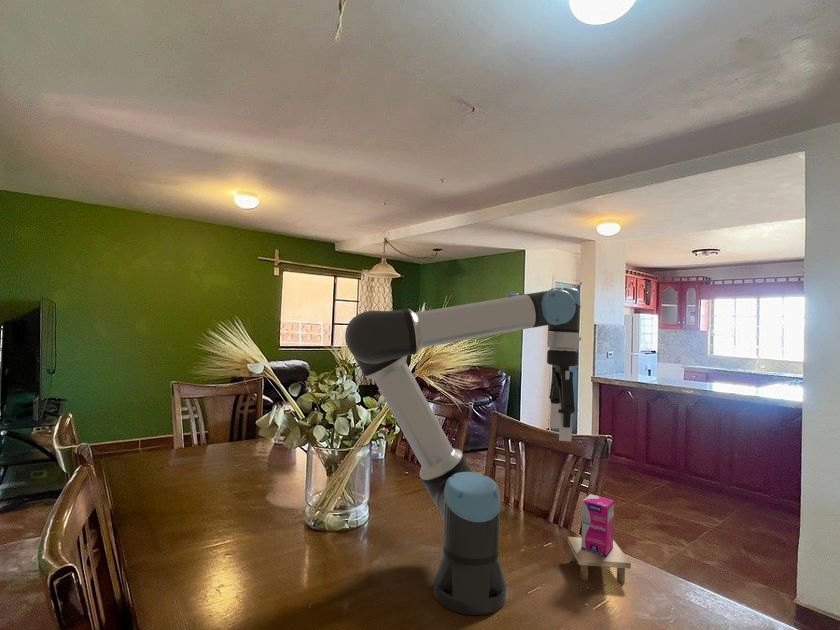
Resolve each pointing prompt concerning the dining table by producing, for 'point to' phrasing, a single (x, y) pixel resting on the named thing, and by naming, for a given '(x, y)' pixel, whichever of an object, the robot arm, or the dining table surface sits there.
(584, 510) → the supplement box
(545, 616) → the dining table surface
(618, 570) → the footstool
